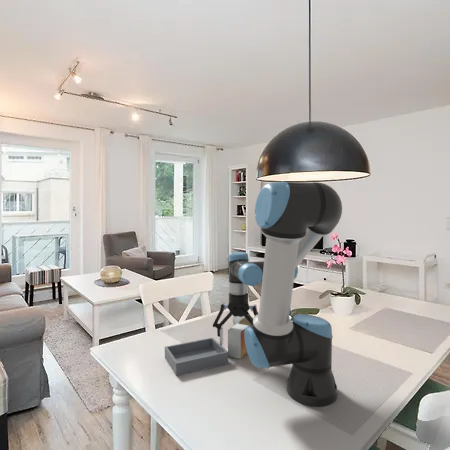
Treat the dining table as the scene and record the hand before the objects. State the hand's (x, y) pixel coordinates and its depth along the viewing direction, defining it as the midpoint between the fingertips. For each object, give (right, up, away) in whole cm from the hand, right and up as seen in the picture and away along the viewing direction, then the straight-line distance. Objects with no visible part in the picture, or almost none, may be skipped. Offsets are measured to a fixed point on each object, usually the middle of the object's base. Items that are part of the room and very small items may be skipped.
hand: (238, 346), depth 127 cm
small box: (0, -3, 0) cm, 3 cm away
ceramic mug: (+4, -2, +25) cm, 26 cm away
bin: (-16, -3, -6) cm, 17 cm away
